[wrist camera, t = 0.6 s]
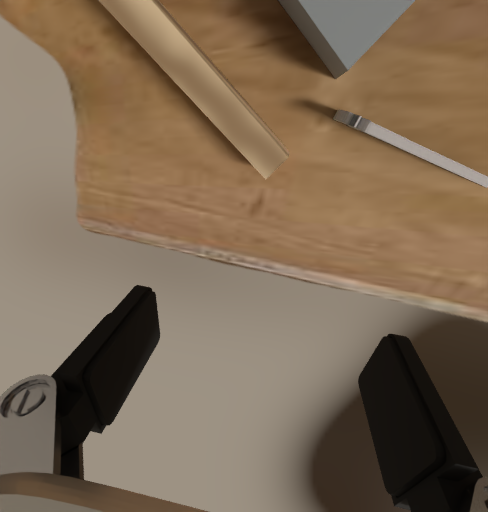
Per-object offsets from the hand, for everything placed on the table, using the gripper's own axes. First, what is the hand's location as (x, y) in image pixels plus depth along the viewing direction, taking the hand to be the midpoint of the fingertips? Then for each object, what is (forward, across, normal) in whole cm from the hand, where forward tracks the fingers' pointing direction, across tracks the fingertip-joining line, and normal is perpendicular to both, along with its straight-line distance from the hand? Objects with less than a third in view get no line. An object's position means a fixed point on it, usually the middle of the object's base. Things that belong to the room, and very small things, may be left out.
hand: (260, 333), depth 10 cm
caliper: (+27, -15, -6) cm, 31 cm away
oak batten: (+27, +10, -10) cm, 30 cm away
